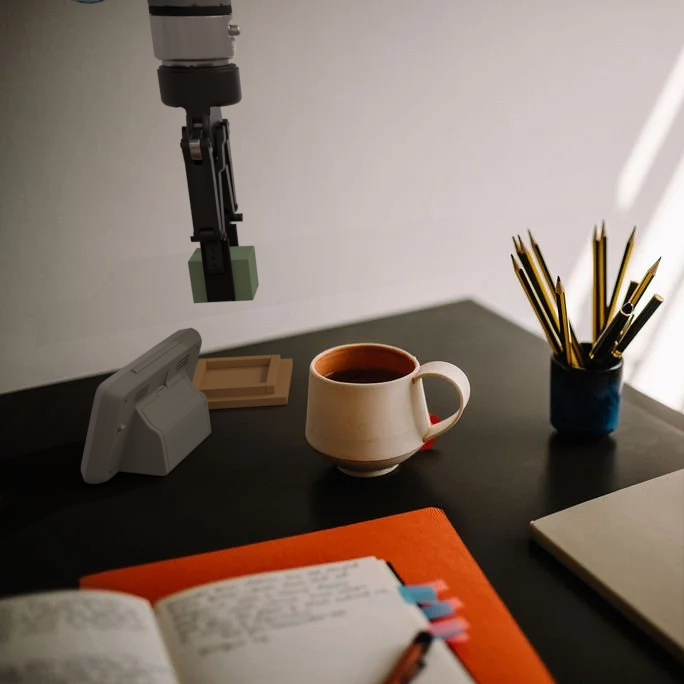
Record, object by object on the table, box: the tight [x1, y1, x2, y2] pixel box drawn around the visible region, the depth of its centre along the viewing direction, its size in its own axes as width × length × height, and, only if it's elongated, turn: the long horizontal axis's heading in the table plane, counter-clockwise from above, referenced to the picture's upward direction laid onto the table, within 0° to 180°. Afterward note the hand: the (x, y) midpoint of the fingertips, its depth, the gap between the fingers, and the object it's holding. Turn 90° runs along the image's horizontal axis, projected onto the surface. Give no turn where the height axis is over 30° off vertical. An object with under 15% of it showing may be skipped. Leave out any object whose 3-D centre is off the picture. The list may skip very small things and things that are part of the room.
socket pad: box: [192, 354, 294, 410], centre depth 104 cm, size 12×11×2 cm
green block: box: [187, 245, 260, 304], centre depth 95 cm, size 6×5×4 cm
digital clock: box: [80, 327, 212, 485], centre depth 88 cm, size 16×9×11 cm, turn 158°
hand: (225, 291), depth 96 cm, fingers closed on green block, 5 cm apart
